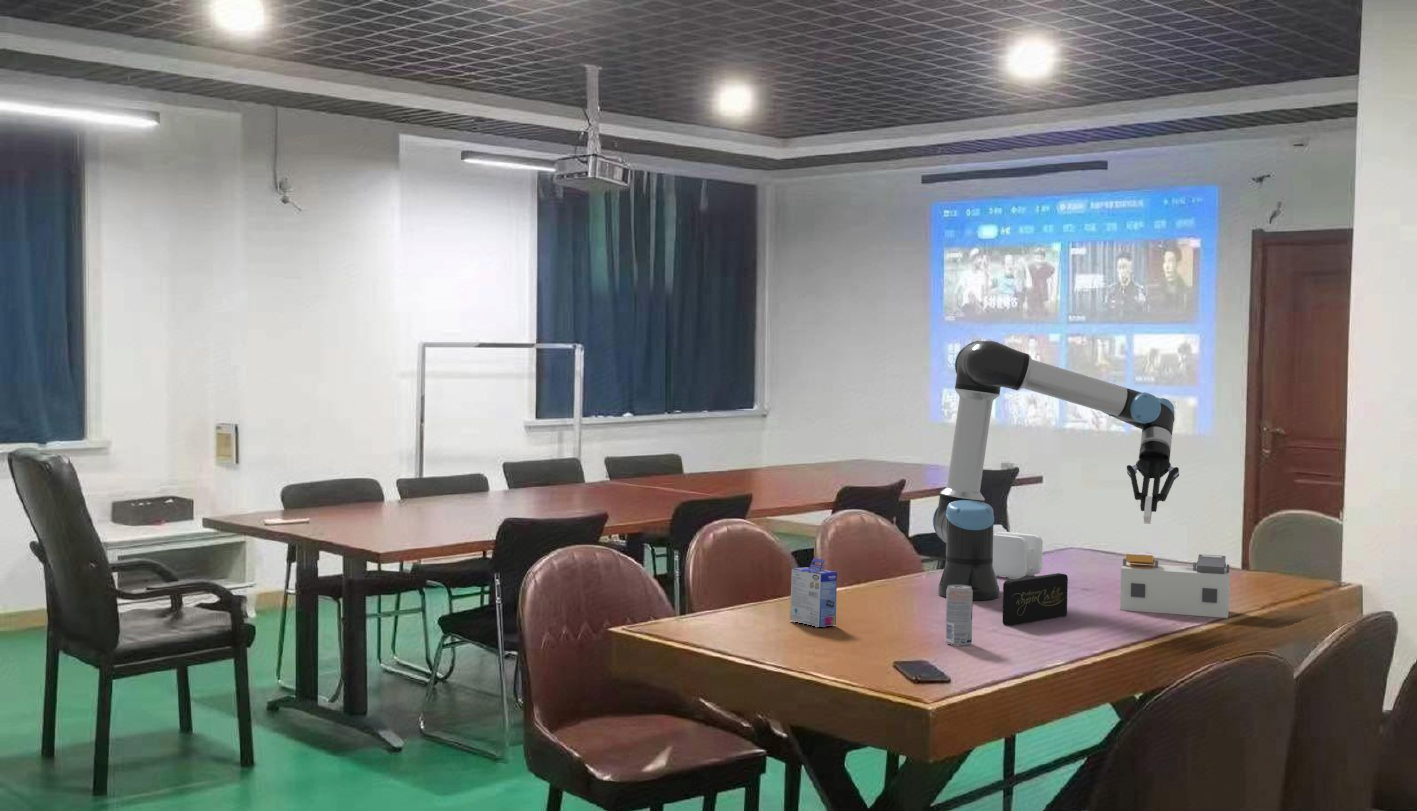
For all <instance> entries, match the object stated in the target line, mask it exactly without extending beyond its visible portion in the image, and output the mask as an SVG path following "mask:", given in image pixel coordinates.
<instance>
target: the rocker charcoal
mask: <svg viewBox="0 0 1417 811" xmlns="http://www.w3.org/2000/svg"><path fill="white" fill-rule="evenodd" d="M1196 567H1197V572H1204V573H1219V574H1224V571H1225V569H1226V567H1227V563H1226V555H1215V554H1213V555H1212V554H1201V553H1200V554H1198V558H1197V561H1196Z"/></svg>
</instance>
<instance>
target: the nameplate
mask: <svg viewBox="0 0 1417 811" xmlns="http://www.w3.org/2000/svg"><path fill="white" fill-rule="evenodd" d="M1068 579H1069V577H1068V575H1067V574H1066V573H1059V572H1057V573H1051V574H1050V573H1049V574H1044V575H1038V576H1036V575H1034V576H1027V577H1021V578H1019V579H1010V580H1009V579H1008V580H1005V581H1004V582H1003V585H1002V624H1003V625H1005V626H1010V627H1013V626H1018V625H1024V624H1030V623H1031V624H1032V623H1035V622H1041V621H1047V620H1053V619H1058V618H1064V617H1066V616H1067V614H1068V589H1069V588H1068V587H1069V586H1068V581H1069V580H1068Z"/></svg>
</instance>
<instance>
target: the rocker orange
mask: <svg viewBox="0 0 1417 811" xmlns="http://www.w3.org/2000/svg"><path fill="white" fill-rule="evenodd" d="M1125 558H1126V563H1132V564H1147V565H1155V560H1156V558H1155V556H1154V555H1148V554H1134V553H1126V555H1125Z"/></svg>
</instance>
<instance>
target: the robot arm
mask: <svg viewBox="0 0 1417 811" xmlns="http://www.w3.org/2000/svg"><path fill="white" fill-rule="evenodd" d="M954 371H955V374H956V379H955V385H954V391H955V392H956V393H957V395H958V396H959V399H958V407H957V414H956V419H955V425H954V426H955V427H954V434H953V442H952V448H951V456H950V463H949V469H948V478H947V483H946V484H947V485H946V487H945V488H944V489H942V490H941V491H940V492H939V498H938V506H937V507H936V509H935V511H934V513H933V515H932V516H933V517H932V526H933V530H934V531H935V534H936V535H937V537H938V538H939V539H940V540H941V541H942V542H943V543H944V544H945V566H944V568H943V572H942V575H941V578H940V581H939V583H938V590H937V592H938V596H940V597H944V598H946V590H947V588H948V585H968V586H971V587H972V591H973V598H972V601H985V600H986V601H987V600H988V601H989V600H994V599H995V600H996V599H998V598H1000V587H999V584H998V579H997V577H996V575H995V572H994V569H993V534H994V525H995V524H994V522H995V516H994V508H993V507H992V506H991V505H990V504H988V503H986V501H985V497H984V496H983V495H982V493H981V485H982V479H983V472H984V466H985V464H984V463H985V459H986V458H985V457H986V451H987V443H988V437H989V436H988V435H989V431H990V430H989V429H990V428H989V427H990V421H991V415H992V408H993V402H994V400H996V399H998V398H999V396H1000V393H1001V388H1005V389H1011V390H1013V391H1020V390H1021V389H1025V390H1028V391H1031V392H1033V393H1038V394H1041V395H1045V396H1048V397H1051V398H1053V399H1054V398H1055V399H1058V400H1062V401H1065V402H1069V403H1070V404H1071V403H1072V404H1076V405H1079V406H1082V407H1086V408H1089V409H1093V410H1096V411H1099V412H1101V413H1104V414H1106V415H1108V417H1112V418H1114V419H1117V420H1119V421H1122V422H1124V423H1126V424H1129V425H1131V426H1132V427H1134V428H1135V427H1136V429H1137V428H1138V429H1140V430H1141V436H1140V437H1141V438H1140V447H1139V453H1138V460H1137V461H1136V463H1135V464H1133V465H1130V464H1128V465H1126V473H1127V475H1128V477H1129V478H1130V480H1131V486H1132V492H1133V495H1134V496H1133V497H1134V499H1135V501H1140V507H1139V508H1140V512H1143V524H1148V525H1149V524H1150V525H1151V522H1152V515H1153V514H1152V513H1153V512H1154V513H1156V512H1157V508H1158V503H1159V502H1165V501H1166V500H1167V498H1168V495H1169V493H1170V491H1171V489H1172V487H1173V484H1174V482H1175V481H1176V479H1178V477H1179V476H1180V469H1179V467H1177V466H1175V467H1173V466H1172V464H1171V462H1170V460H1171V459H1170V458H1171V449H1172V440H1173V429H1174V424H1175V419H1176V418H1175V406H1174V404H1173V402H1172V401H1170V399H1167V398H1165V397H1158V396H1156V395H1154V394H1151V393H1149V392H1142V391H1138V390H1134V389H1131V388H1127V387H1126V386H1121V385H1118V384H1115V383H1111V382H1108V381H1105V380H1101V379H1099V378H1095V377H1091V376H1089V375H1084V374H1082V373H1078V372H1075V371H1072V370H1068V369H1065V368H1061V367H1058V366H1055V365H1052V364H1048V363H1045V362H1042V361H1038V360H1035V359H1033V358H1032V357H1031V355H1030V354H1029V353H1025V352H1023V351H1020V350H1017V349H1014V348H1011V347H1009V346H1007V345H1005V344H1002V343H1001V342H998V341H995V340H976V341H971V342H969V343H967V344H966V345H964V346H963V347H962V348H961V349H960V350H959V351H958V353H957V355H956V357H955V361H954ZM1138 472H1139V473H1140V474H1141V475H1142V477H1143V479H1142V486H1141V488H1142V489H1141V492H1140V489H1139V485H1138V479H1137V473H1138ZM1167 473H1168V475H1167V477H1166V479H1165V482H1164V483H1163V486H1162V488H1161V490H1160V485H1161V478H1162V477H1164V476H1165V475H1166V474H1167ZM1151 479H1153V487H1152V493H1151V496H1148V494H1149V487H1150V486H1149V485H1150V481H1151Z"/></svg>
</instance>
